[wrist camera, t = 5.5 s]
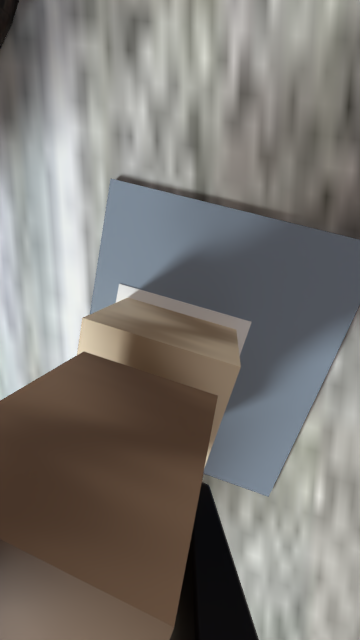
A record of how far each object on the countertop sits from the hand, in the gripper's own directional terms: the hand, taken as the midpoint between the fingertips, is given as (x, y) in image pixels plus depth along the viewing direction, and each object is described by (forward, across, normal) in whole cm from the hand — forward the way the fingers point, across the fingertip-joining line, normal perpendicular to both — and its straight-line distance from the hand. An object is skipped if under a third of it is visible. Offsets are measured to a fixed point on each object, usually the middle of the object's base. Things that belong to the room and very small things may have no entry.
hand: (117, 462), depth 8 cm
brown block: (+1, 0, 0) cm, 1 cm away
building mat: (+8, -1, -1) cm, 8 cm away
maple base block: (+7, 0, 0) cm, 7 cm away
